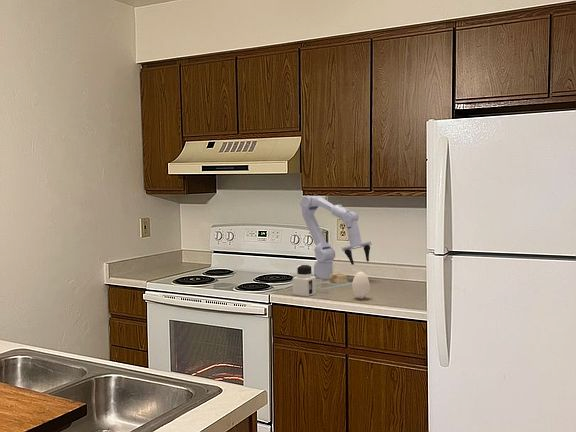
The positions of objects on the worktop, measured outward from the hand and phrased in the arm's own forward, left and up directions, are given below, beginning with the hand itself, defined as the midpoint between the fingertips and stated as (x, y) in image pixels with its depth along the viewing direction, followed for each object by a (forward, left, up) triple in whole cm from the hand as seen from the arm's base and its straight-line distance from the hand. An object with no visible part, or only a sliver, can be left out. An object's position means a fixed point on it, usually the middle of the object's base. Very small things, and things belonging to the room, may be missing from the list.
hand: (360, 263), depth 294 cm
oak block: (-6, -9, -9) cm, 14 cm away
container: (-1, -36, -10) cm, 38 cm away
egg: (+23, -25, -10) cm, 36 cm away
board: (-6, -15, -10) cm, 19 cm away
